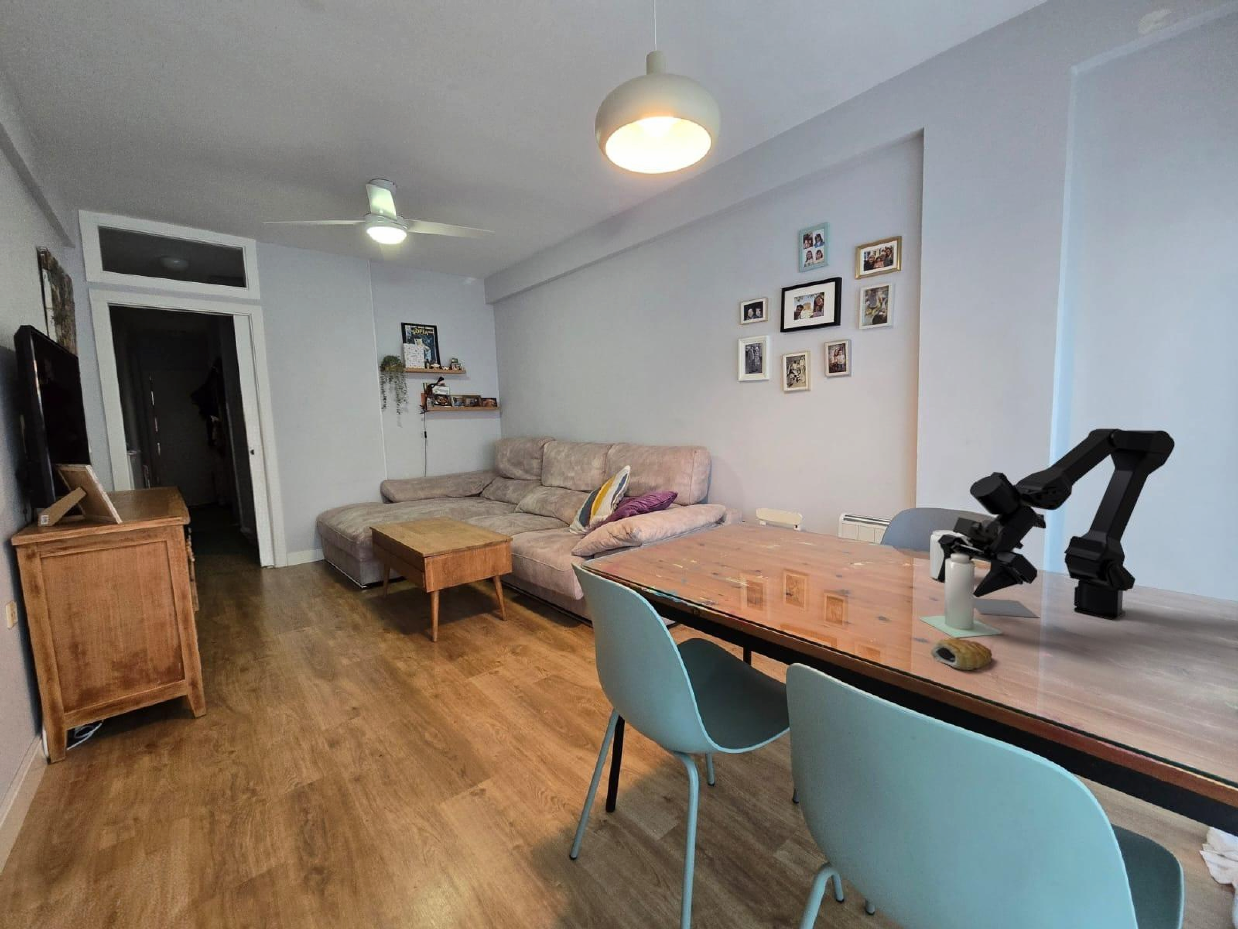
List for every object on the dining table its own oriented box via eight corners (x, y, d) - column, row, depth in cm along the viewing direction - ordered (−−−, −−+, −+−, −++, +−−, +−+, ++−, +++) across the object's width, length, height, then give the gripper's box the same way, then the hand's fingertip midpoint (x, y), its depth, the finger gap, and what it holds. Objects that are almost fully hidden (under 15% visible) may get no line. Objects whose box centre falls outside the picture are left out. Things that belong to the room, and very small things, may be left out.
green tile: (961, 614, 107) (961, 613, 107) (1002, 633, 97) (1002, 632, 97) (918, 618, 106) (918, 617, 106) (955, 638, 96) (955, 637, 96)
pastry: (966, 648, 92) (967, 628, 92) (1004, 665, 86) (1005, 643, 86) (926, 657, 90) (927, 636, 89) (963, 675, 83) (963, 653, 83)
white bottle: (973, 622, 102) (974, 553, 101) (974, 631, 98) (975, 560, 97) (944, 618, 105) (945, 551, 104) (944, 627, 101) (945, 557, 100)
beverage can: (923, 577, 132) (923, 532, 131) (943, 572, 135) (943, 528, 134) (954, 586, 125) (955, 538, 124) (975, 580, 128) (975, 534, 127)
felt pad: (1017, 601, 113) (1017, 600, 113) (1038, 618, 104) (1038, 617, 104) (965, 598, 116) (965, 597, 116) (981, 614, 107) (981, 613, 107)
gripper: (946, 496, 110) (898, 550, 109) (1024, 511, 91) (968, 576, 91) (978, 530, 111) (932, 583, 111) (1062, 551, 93) (1007, 615, 92)
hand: (956, 588), depth 101 cm, fingers open, 9 cm apart
